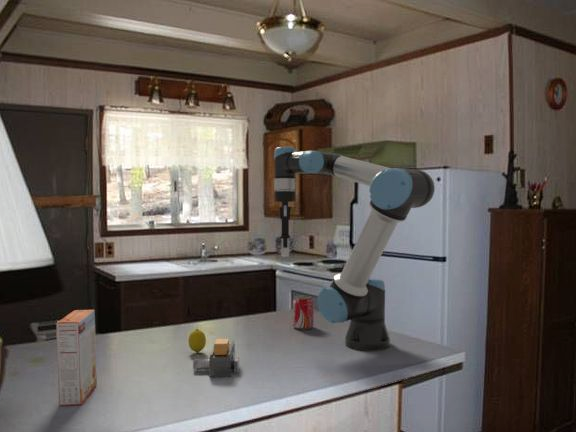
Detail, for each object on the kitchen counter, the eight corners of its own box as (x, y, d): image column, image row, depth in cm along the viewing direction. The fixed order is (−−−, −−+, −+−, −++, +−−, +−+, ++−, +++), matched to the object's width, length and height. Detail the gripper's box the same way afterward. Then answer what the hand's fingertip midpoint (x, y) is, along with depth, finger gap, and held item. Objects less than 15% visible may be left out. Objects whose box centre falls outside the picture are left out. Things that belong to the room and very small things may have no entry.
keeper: (229, 348, 157) (228, 338, 157) (227, 354, 151) (226, 344, 151) (216, 349, 157) (216, 338, 157) (214, 355, 151) (213, 344, 151)
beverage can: (290, 326, 208) (290, 295, 208) (310, 324, 210) (310, 294, 209) (295, 331, 200) (295, 299, 200) (316, 329, 202) (316, 298, 202)
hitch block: (234, 361, 164) (234, 341, 163) (230, 376, 150) (230, 354, 149) (215, 361, 164) (215, 341, 163) (209, 376, 150) (209, 354, 149)
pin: (239, 366, 158) (239, 355, 158) (237, 372, 152) (237, 361, 152) (195, 366, 158) (195, 355, 158) (192, 373, 152) (192, 361, 152)
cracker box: (74, 386, 143) (73, 309, 142) (97, 385, 143) (96, 308, 143) (56, 406, 129) (54, 321, 128) (81, 405, 129) (80, 321, 129)
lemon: (202, 356, 169) (202, 331, 169) (186, 355, 170) (185, 330, 170) (208, 351, 175) (208, 327, 174) (192, 350, 176) (192, 326, 175)
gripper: (295, 190, 182) (296, 258, 183) (294, 190, 195) (295, 254, 196) (274, 190, 182) (274, 258, 183) (274, 190, 195) (274, 254, 196)
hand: (285, 256), depth 190 cm, fingers closed
